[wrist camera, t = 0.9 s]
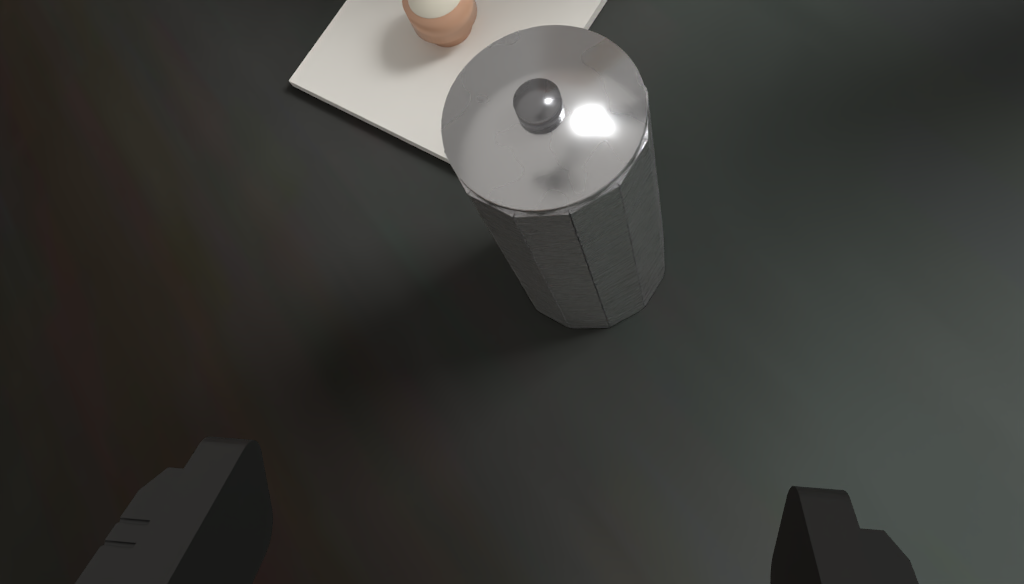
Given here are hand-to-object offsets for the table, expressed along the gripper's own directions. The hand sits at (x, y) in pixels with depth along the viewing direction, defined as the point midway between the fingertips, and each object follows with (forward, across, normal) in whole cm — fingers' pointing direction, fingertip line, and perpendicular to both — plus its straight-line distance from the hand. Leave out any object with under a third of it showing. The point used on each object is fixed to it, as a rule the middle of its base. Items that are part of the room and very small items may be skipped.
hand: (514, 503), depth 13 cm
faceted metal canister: (+23, -1, +8) cm, 24 cm away
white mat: (+32, +6, +1) cm, 33 cm away
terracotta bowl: (+32, +6, +1) cm, 33 cm away
